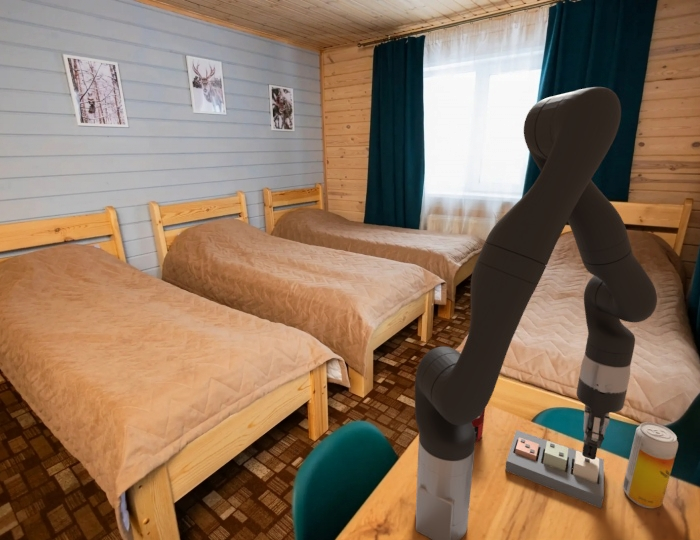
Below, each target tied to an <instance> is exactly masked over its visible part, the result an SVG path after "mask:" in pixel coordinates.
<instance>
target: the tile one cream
mask: <svg viewBox="0 0 700 540" xmlns="http://www.w3.org/2000/svg"><path fill="white" fill-rule="evenodd" d="M579 451H580V450H577V451H576V454H575V460H574V468H573V469H572V470H573V471H572V475H575V476H578V477H580V478H583V479H586V480H588V481H591V482H594V483H597V479H598V474H599V458H600V457H598V456H596V458H595V459H590V458H587V457H584V456H583V455H582V452H583V451H580V452H579ZM597 457H598V458H597Z"/></svg>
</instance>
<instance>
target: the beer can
mask: <svg viewBox="0 0 700 540" xmlns="http://www.w3.org/2000/svg"><path fill="white" fill-rule="evenodd" d="M677 438H678V437H677V435H676V433H675V432H673V431H672V429H670V428H669V427H667V426H664V425H662V424H658V423H656V422H651V421H645V422H644V421H643V422H641V423H640V424H639V426H638V427H636V429H635V434H634V437H633V440H632V441H633V442H632V446H631V450H630V453H629V454H630V455H629V458H628V462H627V467H626V472H625V476H624V479H623V484H622V488H623V491H624V492H625V494H626V496H627V498H629V499H630V500H631V501H632V502H633V503H635V504H636V505H638V506H640V507H642V508H645V509H655V508H659V507H661V506H662V505H663V502H664V500H665V499H664V498H665V495H666V491H667V488H668V483H669V480H670V476H671V474H672V469H673V466H674V463H675V458H676V454H677V452H678V448H679V442H678V439H677Z"/></svg>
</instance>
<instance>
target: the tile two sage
mask: <svg viewBox="0 0 700 540" xmlns="http://www.w3.org/2000/svg"><path fill="white" fill-rule="evenodd" d="M549 441H550V440H548V441H547V444H546V449H545V454H544V458H543V459H542V464H545V465H548V466H550V467H553V468H556V469H559V470H561V471H564V472H566V469H567V467H566V463H567V456H568V448H569V447H568V446H565V445H562V444H559V443H556V442H553V441H551V442H549ZM552 442H553V443H552ZM555 443H556V444H555ZM558 444H559V445H558ZM561 445H562V446H561ZM564 446H565V447H564ZM567 447H568V448H567Z"/></svg>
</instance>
